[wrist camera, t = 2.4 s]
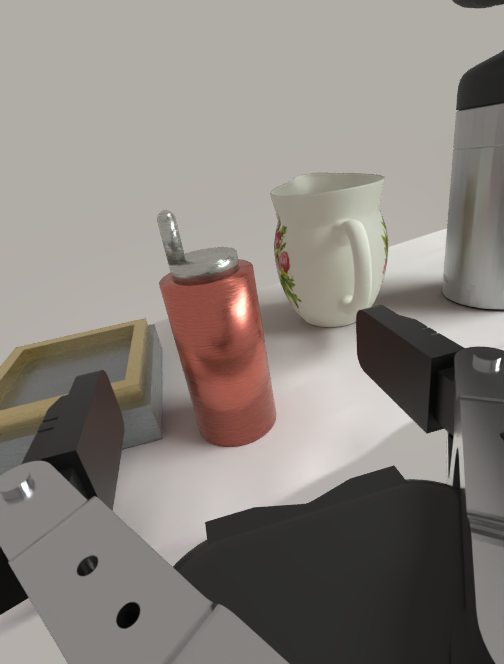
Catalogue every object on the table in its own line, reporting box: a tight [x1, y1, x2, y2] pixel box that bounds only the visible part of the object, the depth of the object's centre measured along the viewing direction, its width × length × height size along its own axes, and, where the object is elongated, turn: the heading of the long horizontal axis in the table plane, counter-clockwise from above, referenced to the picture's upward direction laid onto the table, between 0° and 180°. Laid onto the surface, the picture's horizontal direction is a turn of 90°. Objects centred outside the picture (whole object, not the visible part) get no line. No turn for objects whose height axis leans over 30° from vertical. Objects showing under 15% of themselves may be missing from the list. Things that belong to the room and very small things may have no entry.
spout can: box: [157, 210, 276, 447], centre depth 23 cm, size 6×6×15 cm
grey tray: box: [0, 319, 162, 476], centre depth 30 cm, size 16×14×4 cm
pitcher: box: [270, 173, 388, 327], centre depth 36 cm, size 11×18×14 cm, turn 5°
